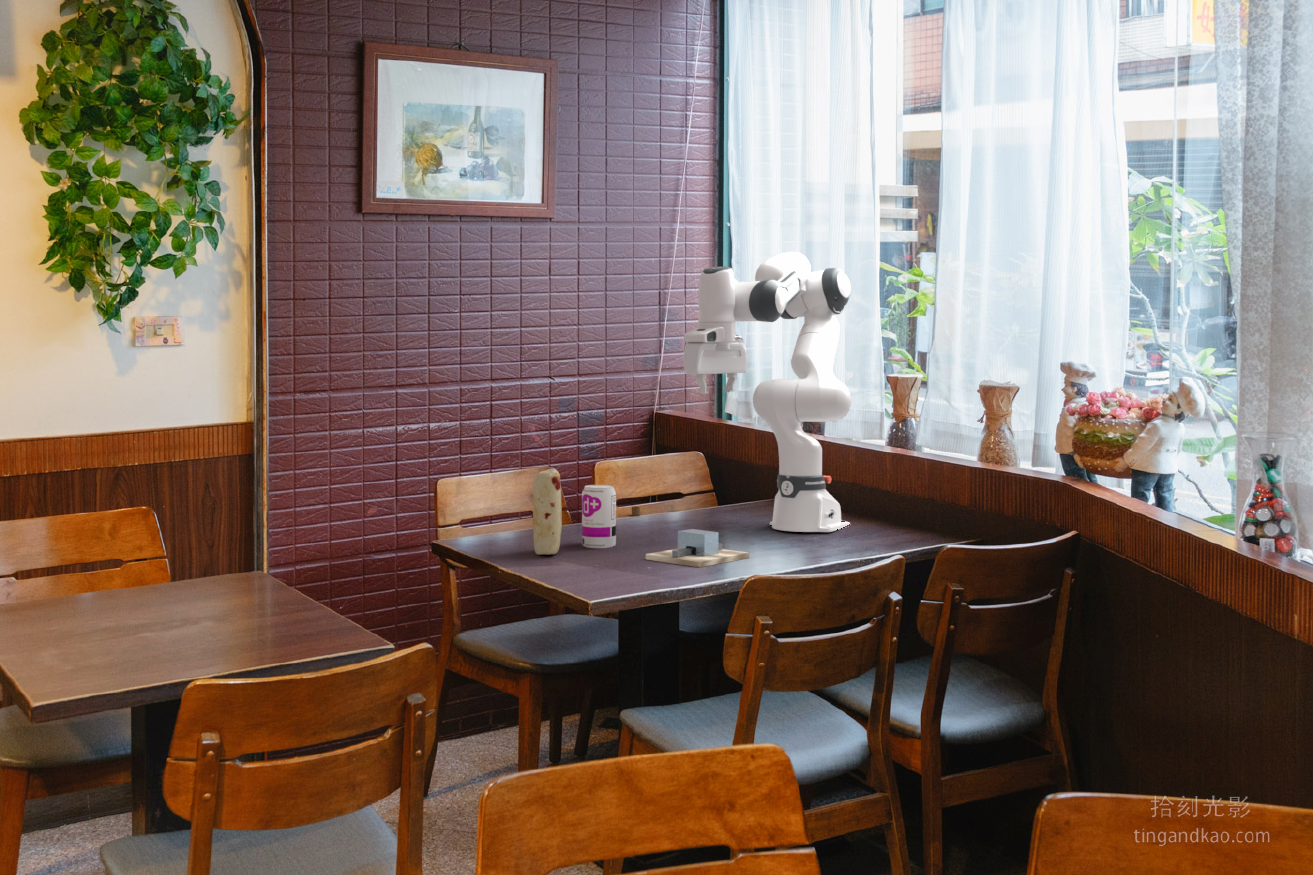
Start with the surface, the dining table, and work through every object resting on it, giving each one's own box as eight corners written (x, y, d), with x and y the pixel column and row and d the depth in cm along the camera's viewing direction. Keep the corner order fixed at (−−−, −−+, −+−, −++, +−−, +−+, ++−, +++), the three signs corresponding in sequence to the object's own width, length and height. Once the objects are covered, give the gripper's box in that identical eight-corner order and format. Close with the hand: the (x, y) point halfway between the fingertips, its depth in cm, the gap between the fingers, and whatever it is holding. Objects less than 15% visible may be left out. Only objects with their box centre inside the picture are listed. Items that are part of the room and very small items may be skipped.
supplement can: (599, 551, 285) (599, 488, 284) (575, 547, 290) (575, 486, 289) (622, 547, 291) (622, 486, 290) (598, 544, 296) (598, 483, 295)
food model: (564, 556, 277) (564, 470, 276) (535, 557, 275) (535, 471, 274) (559, 550, 286) (559, 467, 285) (531, 551, 285) (531, 467, 284)
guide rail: (717, 549, 281) (717, 542, 281) (722, 549, 280) (722, 543, 280) (672, 557, 269) (672, 550, 269) (677, 557, 268) (677, 551, 268)
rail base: (696, 550, 287) (696, 545, 287) (749, 557, 276) (749, 552, 276) (645, 559, 274) (645, 554, 273) (699, 567, 263) (699, 562, 263)
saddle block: (691, 550, 279) (691, 529, 279) (718, 554, 274) (718, 532, 274) (677, 552, 276) (677, 531, 275) (704, 556, 270) (704, 534, 270)
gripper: (733, 335, 295) (733, 391, 296) (679, 334, 280) (679, 394, 281) (753, 334, 291) (753, 391, 292) (699, 334, 276) (700, 394, 277)
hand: (716, 392), depth 286 cm, fingers open, 8 cm apart
